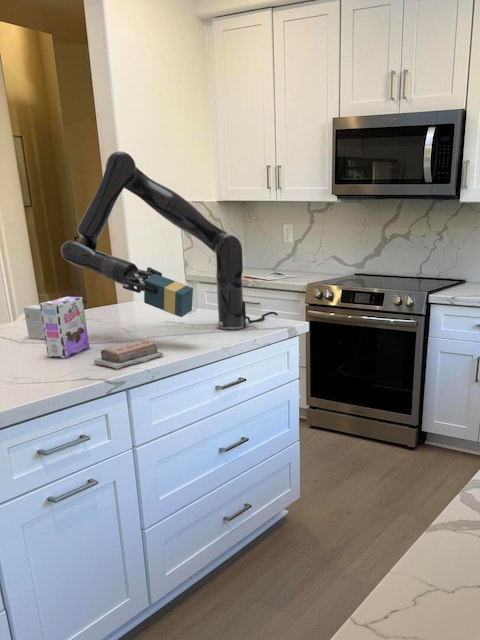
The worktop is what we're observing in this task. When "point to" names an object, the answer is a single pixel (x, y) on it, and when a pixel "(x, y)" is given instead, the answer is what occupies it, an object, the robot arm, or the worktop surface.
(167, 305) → the tea box
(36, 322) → the small box
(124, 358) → the packaged product
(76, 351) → the candy box
